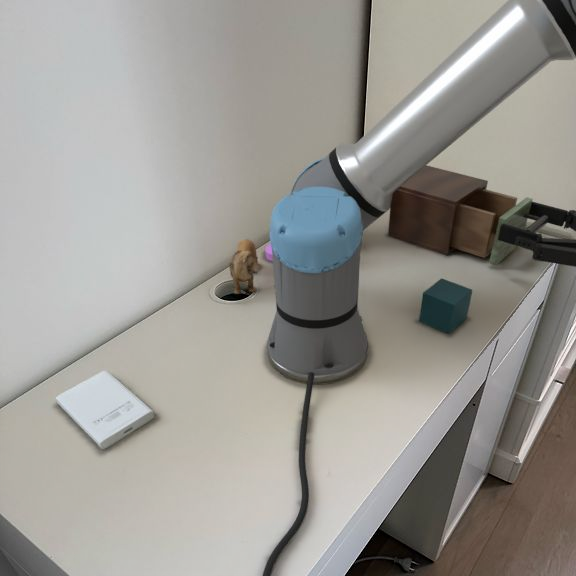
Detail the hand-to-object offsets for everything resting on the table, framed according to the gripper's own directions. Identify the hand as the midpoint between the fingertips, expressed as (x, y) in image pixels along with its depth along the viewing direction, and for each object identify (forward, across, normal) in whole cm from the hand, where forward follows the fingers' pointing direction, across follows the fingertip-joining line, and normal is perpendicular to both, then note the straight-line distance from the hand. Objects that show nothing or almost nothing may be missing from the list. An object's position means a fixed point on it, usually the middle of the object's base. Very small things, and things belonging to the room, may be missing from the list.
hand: (515, 220), depth 96 cm
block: (-1, -24, -8) cm, 26 cm away
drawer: (+4, 0, -7) cm, 8 cm away
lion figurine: (+32, -36, -8) cm, 49 cm away
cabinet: (+16, 0, -8) cm, 17 cm away
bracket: (+31, -25, -8) cm, 40 cm away
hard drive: (+23, -72, -8) cm, 76 cm away
